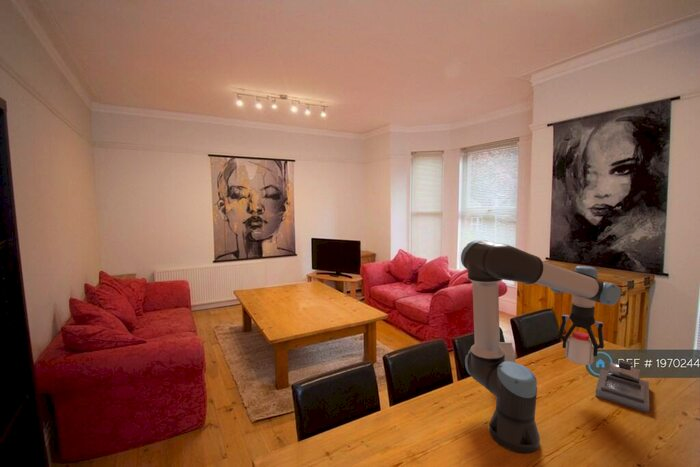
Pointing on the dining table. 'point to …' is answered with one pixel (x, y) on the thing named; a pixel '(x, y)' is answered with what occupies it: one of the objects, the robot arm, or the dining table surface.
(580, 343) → the pill bottle
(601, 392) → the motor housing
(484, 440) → the dining table surface
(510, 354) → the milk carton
